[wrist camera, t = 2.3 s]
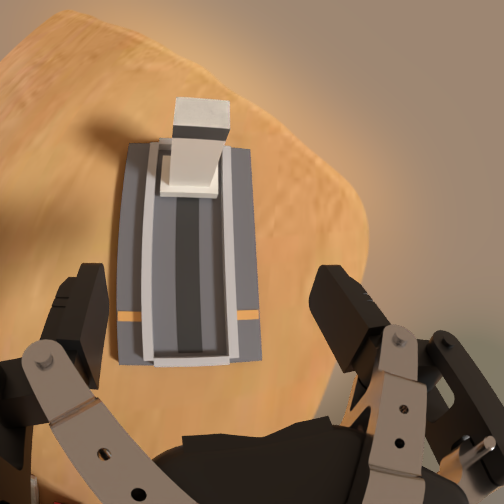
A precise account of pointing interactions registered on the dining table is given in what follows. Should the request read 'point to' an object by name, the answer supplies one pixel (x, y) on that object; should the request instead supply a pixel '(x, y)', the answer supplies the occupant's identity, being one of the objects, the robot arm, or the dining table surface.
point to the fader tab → (195, 148)
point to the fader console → (187, 266)
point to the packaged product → (34, 491)
